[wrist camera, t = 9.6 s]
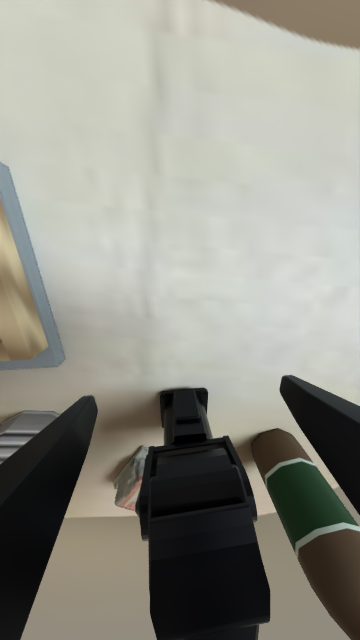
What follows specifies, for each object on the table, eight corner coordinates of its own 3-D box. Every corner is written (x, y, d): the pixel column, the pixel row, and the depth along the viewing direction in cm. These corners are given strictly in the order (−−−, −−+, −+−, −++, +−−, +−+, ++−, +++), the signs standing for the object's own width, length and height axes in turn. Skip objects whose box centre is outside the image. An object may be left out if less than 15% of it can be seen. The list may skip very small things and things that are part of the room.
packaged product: (103, 517, 25) (137, 478, 22) (113, 476, 29) (142, 441, 27) (201, 536, 29) (238, 507, 27) (196, 499, 34) (227, 471, 32)
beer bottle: (299, 444, 30) (712, 1017, 7) (260, 463, 31) (517, 1015, 8) (282, 419, 27) (844, 1197, 5) (241, 442, 28) (536, 1159, 6)
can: (67, 401, 22) (-31, 549, 11) (98, 455, 26) (49, 602, 15) (-20, 419, 22) (-211, 588, 11) (25, 470, 26) (-80, 631, 15)
